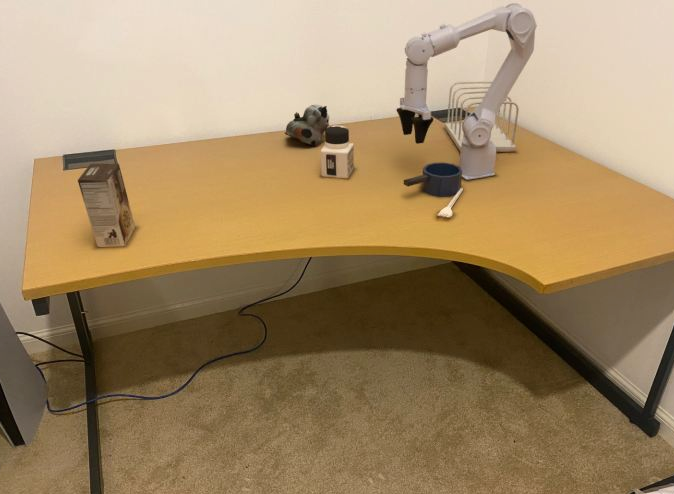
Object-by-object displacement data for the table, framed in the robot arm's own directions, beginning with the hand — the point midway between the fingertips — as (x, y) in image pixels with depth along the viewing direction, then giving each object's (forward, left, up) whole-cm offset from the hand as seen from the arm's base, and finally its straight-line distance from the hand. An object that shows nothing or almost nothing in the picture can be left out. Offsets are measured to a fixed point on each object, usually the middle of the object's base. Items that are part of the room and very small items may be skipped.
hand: (413, 138), depth 156 cm
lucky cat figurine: (+19, -38, -11) cm, 44 cm away
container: (+19, -9, -11) cm, 24 cm away
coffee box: (+79, +8, -11) cm, 80 cm away
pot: (+1, +13, -10) cm, 16 cm away
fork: (0, +22, -11) cm, 25 cm away
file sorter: (-33, -18, -11) cm, 39 cm away
